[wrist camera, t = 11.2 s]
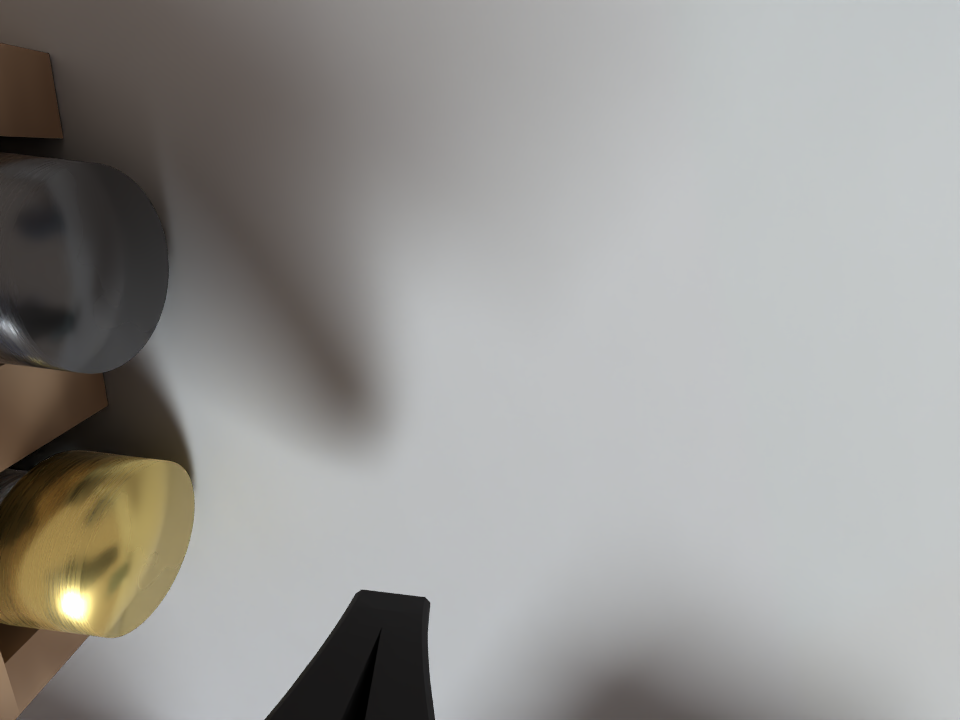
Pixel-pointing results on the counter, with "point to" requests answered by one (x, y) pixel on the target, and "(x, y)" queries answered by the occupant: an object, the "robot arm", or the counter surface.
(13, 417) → the catch block
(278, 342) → the counter surface
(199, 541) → the counter surface
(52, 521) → the plunger
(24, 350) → the plunger
